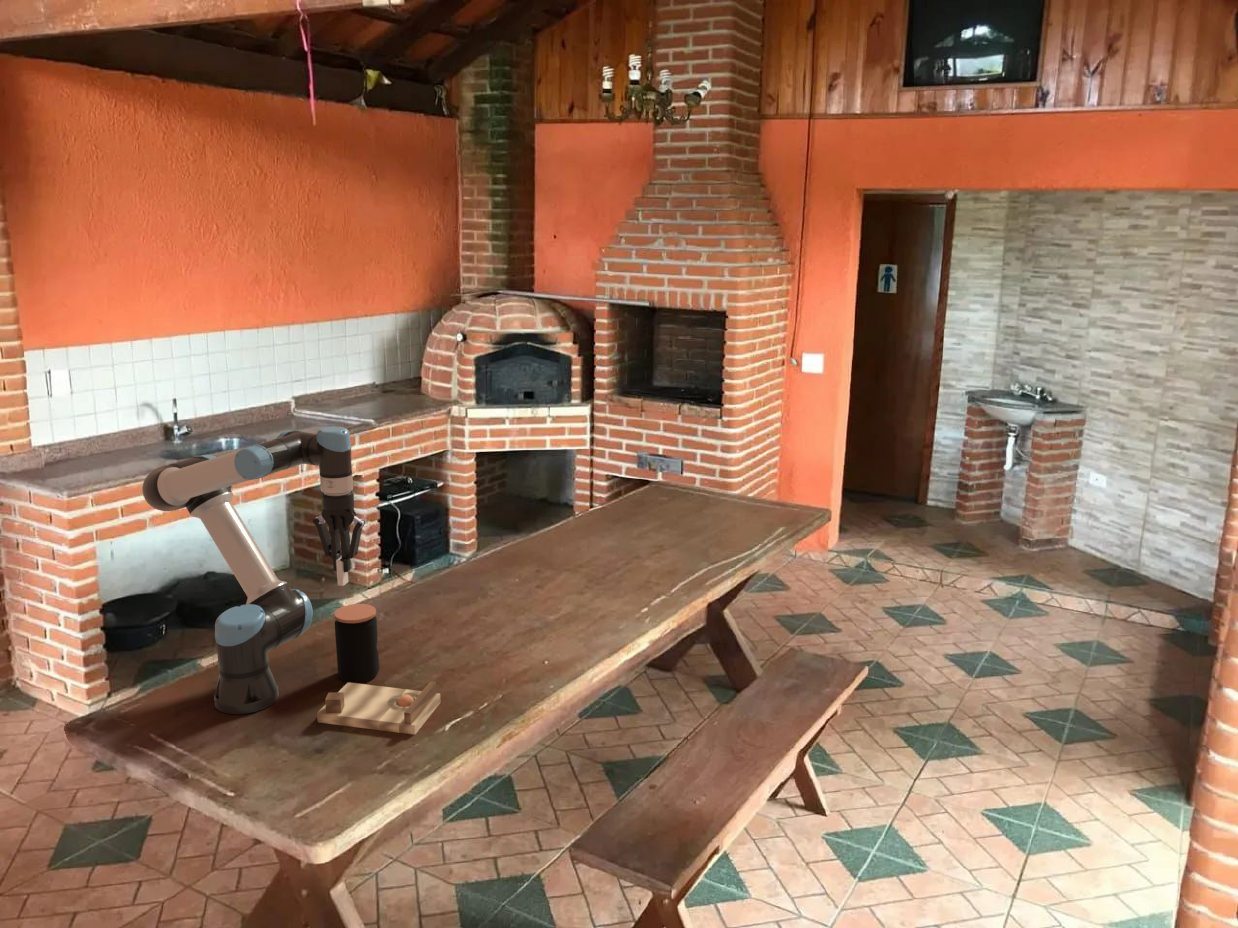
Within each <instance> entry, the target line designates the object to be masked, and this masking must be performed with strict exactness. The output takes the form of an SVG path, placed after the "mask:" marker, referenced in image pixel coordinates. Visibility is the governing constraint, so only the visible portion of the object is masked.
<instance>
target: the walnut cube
mask: <svg viewBox="0 0 1238 928" xmlns="http://www.w3.org/2000/svg"><path fill="white" fill-rule="evenodd" d="M324 700H325V701H324V702H325V704H324V705H326V713H342V710H343V708H344V692H339V691H338V692H328V693H327V695H326V697H325V699H324Z"/></svg>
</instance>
